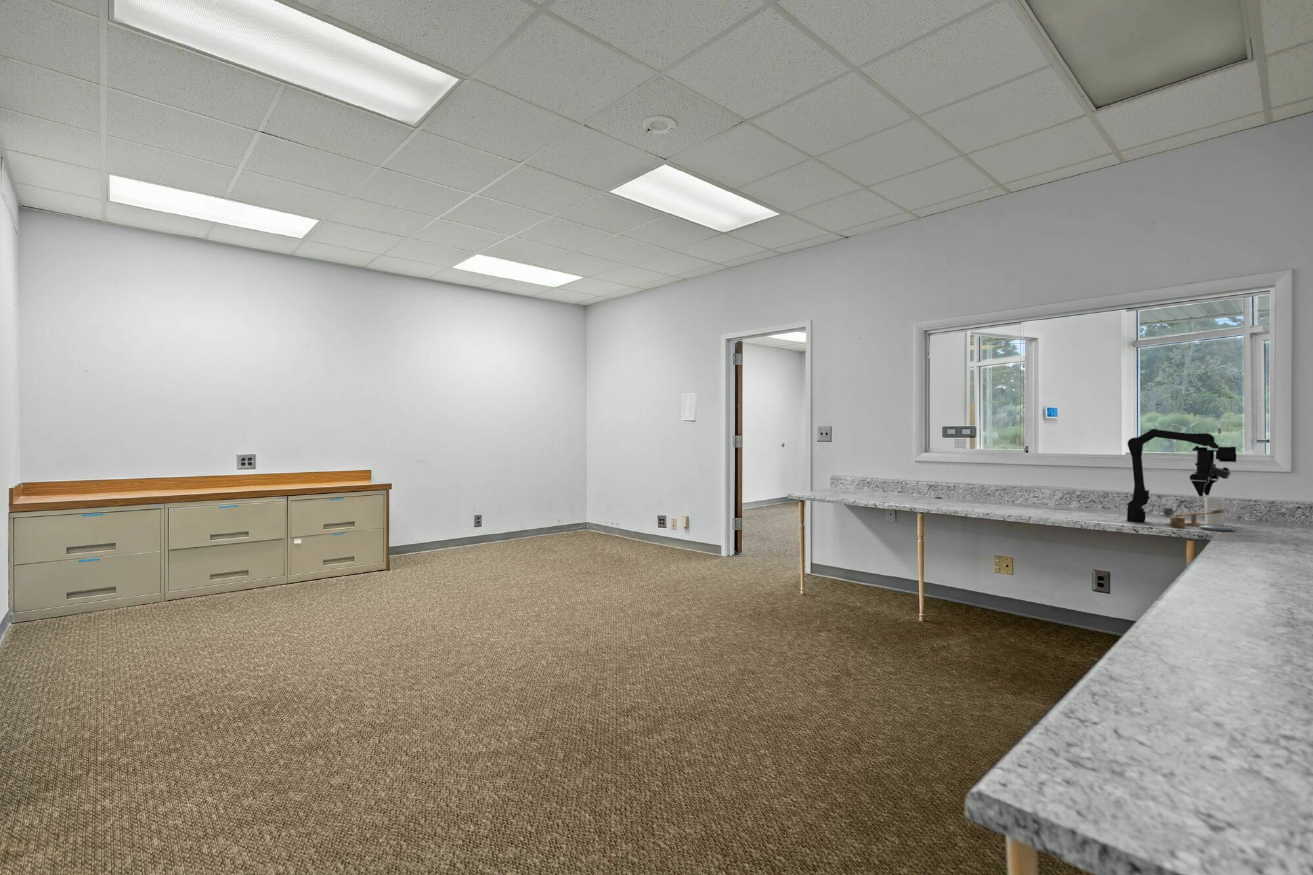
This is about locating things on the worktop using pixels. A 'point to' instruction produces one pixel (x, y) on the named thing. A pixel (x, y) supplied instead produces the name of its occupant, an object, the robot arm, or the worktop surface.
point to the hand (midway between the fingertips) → (1204, 495)
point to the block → (1177, 522)
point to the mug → (1219, 517)
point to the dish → (1216, 528)
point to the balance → (1169, 512)
